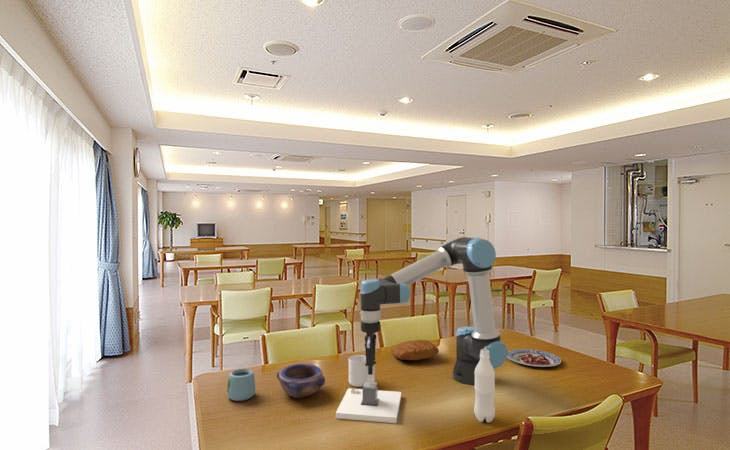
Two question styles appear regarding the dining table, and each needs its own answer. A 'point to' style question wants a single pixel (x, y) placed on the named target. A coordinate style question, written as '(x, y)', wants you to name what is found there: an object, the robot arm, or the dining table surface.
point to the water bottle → (484, 388)
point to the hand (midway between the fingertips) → (370, 381)
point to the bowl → (301, 379)
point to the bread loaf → (414, 350)
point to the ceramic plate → (533, 358)
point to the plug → (370, 394)
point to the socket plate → (369, 407)
